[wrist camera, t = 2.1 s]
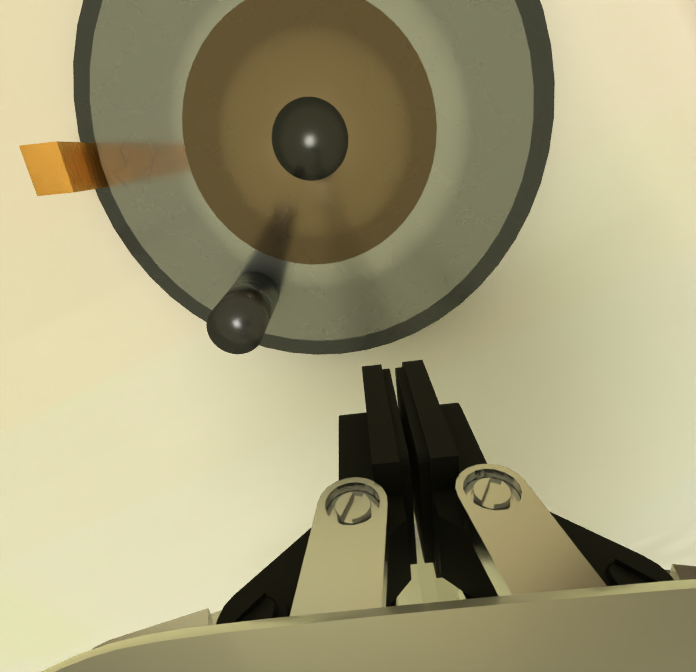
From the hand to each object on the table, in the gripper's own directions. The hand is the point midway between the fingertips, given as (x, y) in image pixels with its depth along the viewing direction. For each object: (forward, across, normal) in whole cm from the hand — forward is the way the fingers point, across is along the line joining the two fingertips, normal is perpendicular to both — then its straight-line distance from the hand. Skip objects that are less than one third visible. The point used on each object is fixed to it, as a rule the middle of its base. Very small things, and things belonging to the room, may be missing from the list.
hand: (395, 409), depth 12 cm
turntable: (+14, +2, -7) cm, 16 cm away
